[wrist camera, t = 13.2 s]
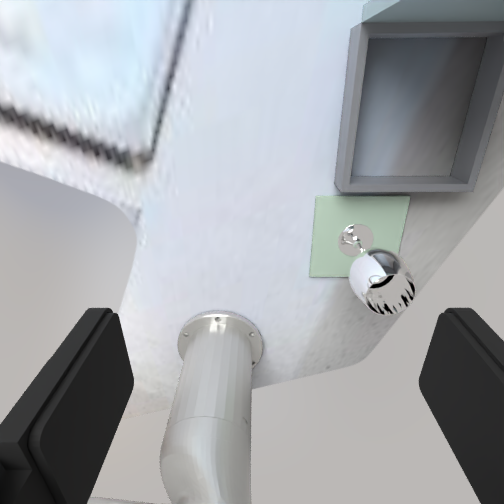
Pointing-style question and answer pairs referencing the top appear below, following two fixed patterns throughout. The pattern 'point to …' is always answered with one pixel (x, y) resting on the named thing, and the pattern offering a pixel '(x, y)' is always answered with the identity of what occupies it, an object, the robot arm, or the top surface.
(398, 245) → the mat
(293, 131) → the top surface
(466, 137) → the case
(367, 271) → the wineglass
